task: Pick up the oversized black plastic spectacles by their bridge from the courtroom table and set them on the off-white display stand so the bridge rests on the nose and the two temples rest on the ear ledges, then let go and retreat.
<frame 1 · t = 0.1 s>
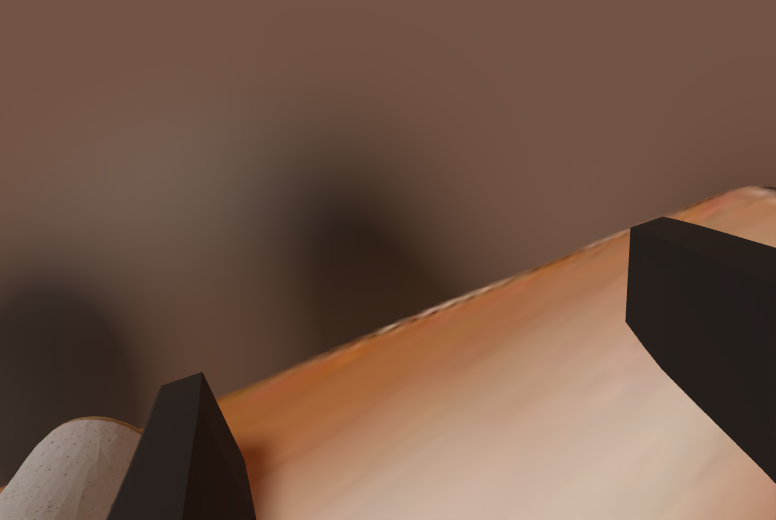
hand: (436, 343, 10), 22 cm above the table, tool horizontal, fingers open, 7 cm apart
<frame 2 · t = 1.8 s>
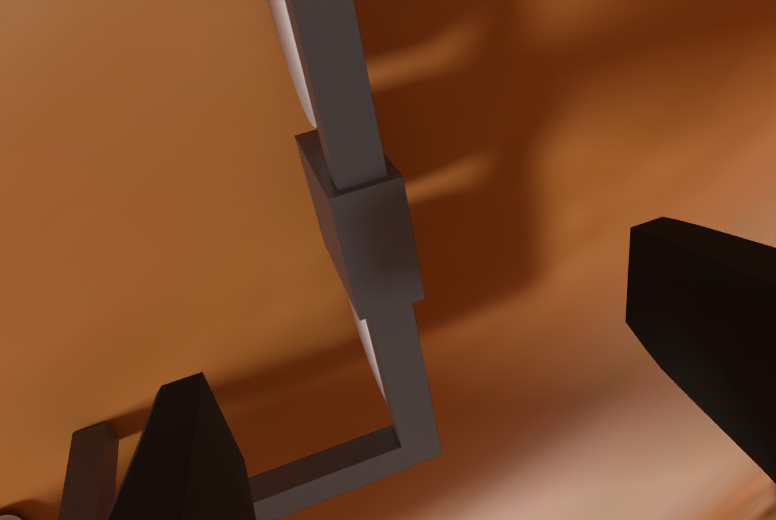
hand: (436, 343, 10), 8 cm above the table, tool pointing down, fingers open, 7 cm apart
glasses: (326, 162, 17), on the table
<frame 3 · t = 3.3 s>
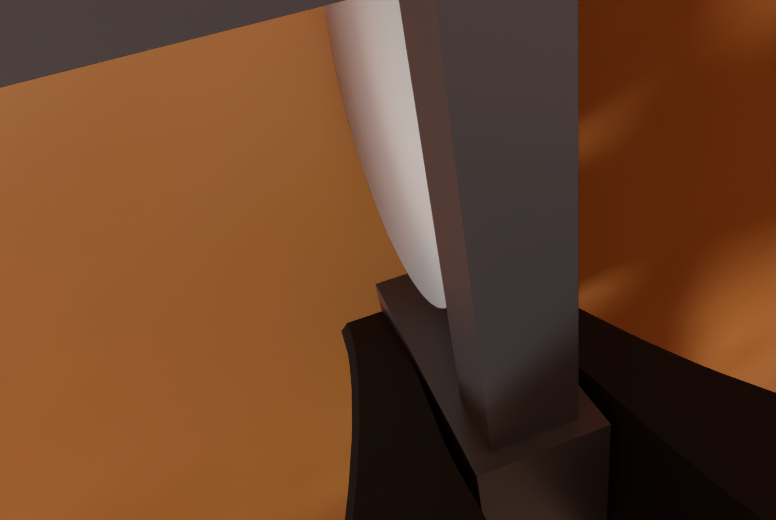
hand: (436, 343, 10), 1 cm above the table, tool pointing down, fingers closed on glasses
glasses: (408, 295, 11), on the table, touching gripper
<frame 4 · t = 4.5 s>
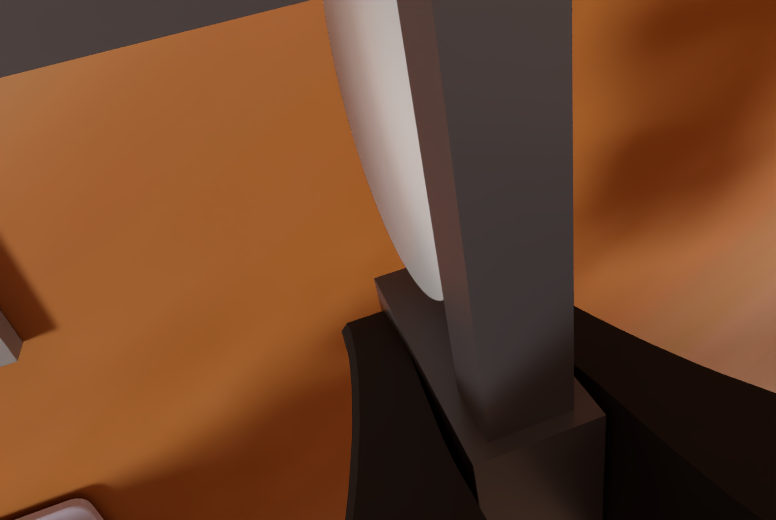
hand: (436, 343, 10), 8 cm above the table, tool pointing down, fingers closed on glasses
glasses: (407, 291, 11), point 7 cm above the table, touching gripper
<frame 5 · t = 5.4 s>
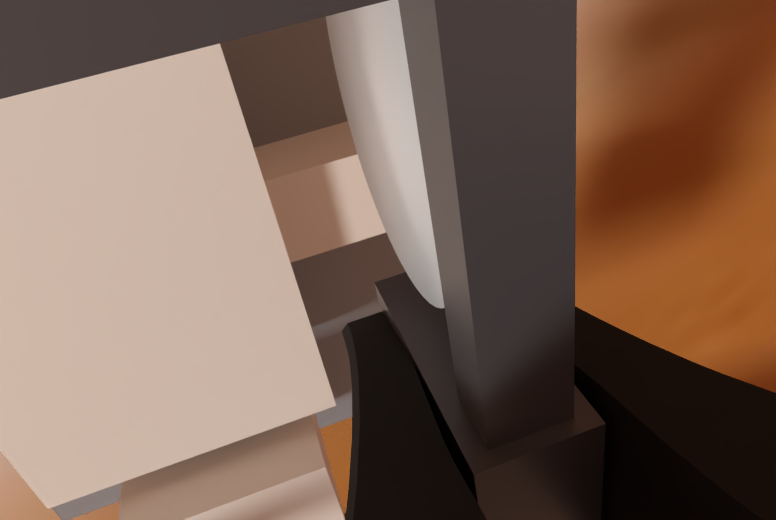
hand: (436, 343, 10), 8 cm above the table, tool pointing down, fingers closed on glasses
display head: (325, 156, 17), on the table
glasses: (406, 293, 11), point 7 cm above the table, touching gripper
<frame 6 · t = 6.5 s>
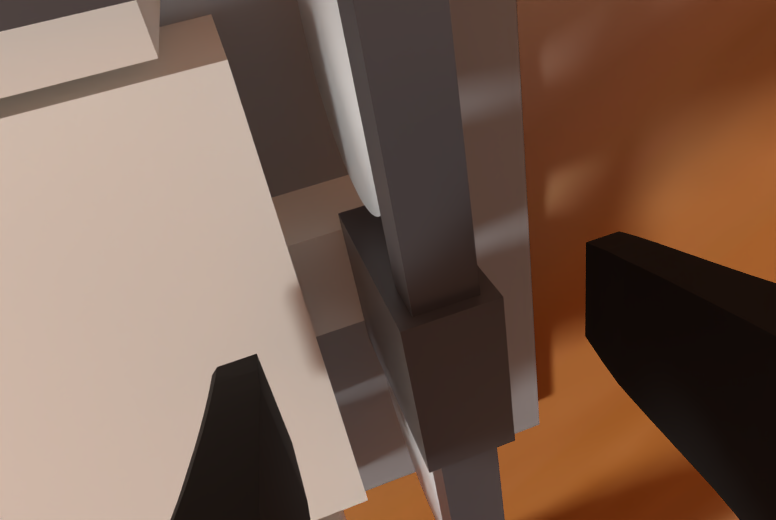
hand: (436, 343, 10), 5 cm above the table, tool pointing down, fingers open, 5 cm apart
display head: (353, 202, 14), on the table
glasses: (371, 234, 13), point 1 cm above the table, touching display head
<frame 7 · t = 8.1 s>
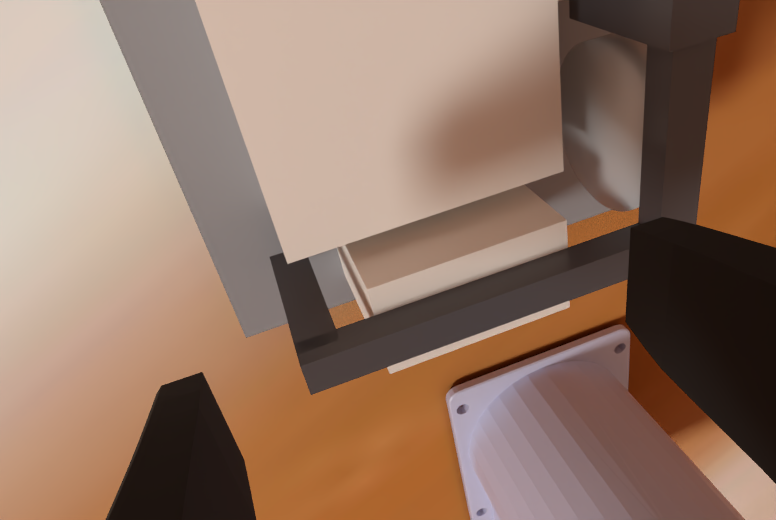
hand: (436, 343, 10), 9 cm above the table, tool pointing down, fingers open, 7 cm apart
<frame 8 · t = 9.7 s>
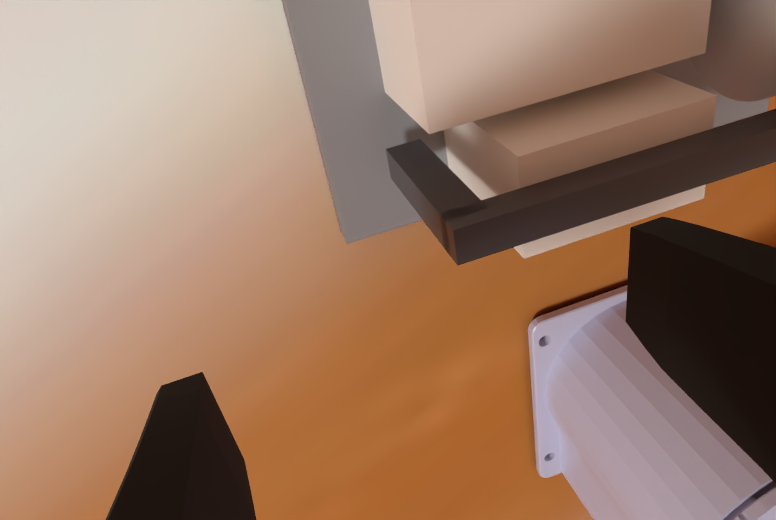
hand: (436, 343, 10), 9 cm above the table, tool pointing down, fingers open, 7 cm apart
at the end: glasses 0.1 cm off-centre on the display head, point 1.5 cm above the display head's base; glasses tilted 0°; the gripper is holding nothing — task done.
